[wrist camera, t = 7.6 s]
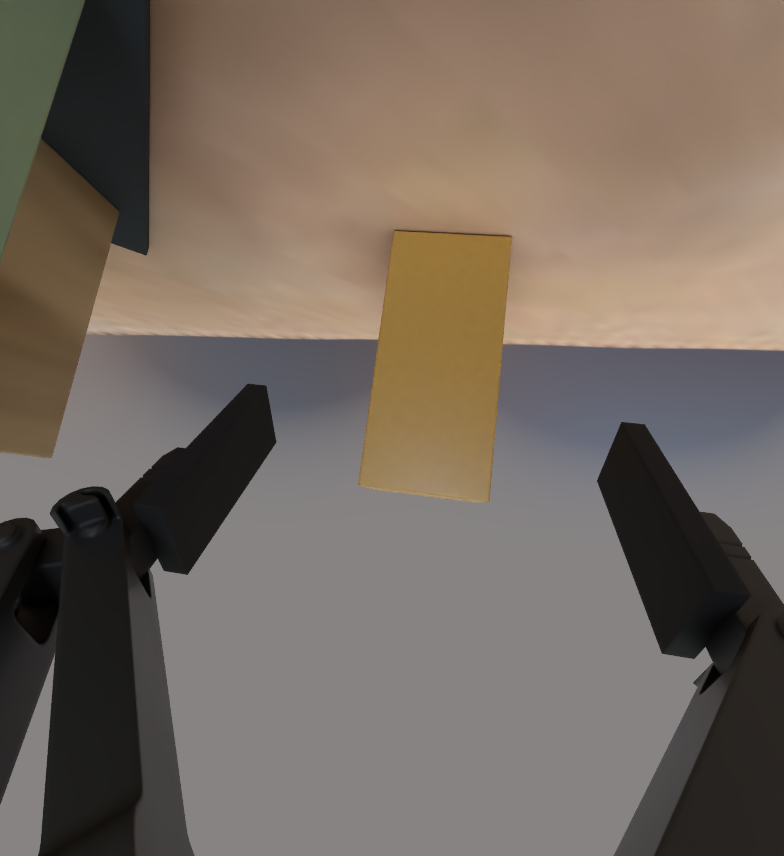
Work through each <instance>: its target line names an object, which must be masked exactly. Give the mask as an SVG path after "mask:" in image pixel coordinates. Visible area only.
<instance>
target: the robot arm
mask: <svg viewBox="0 0 784 856" xmlns="http://www.w3.org/2000/svg"><path fill="white" fill-rule="evenodd" d="M275 444H276V438H275V432H274V427H273V421H272V415H271V410H270V404H269V399H268V393H267V387H266V386H264V385H255V384H247V385H246V386H245V387H244V388H243V389H242V390H241V391H240V392H239V394H238V395H237V396H236V397H235V398H234V399H233V400H232V401H231V402H230V403H229V404H228V405H227V406H226V407H225V408H224V409H223V410H222V411H221V412H220V413H219V414H218V416H216V418H214V419H213V421H212V422H211V423H210V424H209V425H208V426H207V427H206V428H205V429H204V430H203V431H202V432H201V433H200V434H199V435H198V436H197V437H196V438H195V439H194V440H193V442H191V444H190V445H189V446H188V447H187V448H176V449H174V450H172V451H170V452H169V453H167V454H165V455H163V456H162V457H161V458H160V459H159V460H158V461H157V462H156V463H155V464H154V465H153V466H152V469H149V470H148V471H147V472H146V473H145V474H144V475H143V478H140V479H139V480H138V481H137V482H136V483H135V484H134V485H133V486H132V487H131V488H130V489H129V490H128V491H127V492H126V493H125V494H124V495H123V496H122V497H121V498H120V499H119V500H118V501H117V502H116V503H115V501H114V499H113V497H112V495H111V494H110V492H109V490H108V489H106V488H103V487H87V488H82V489H79V490H77V491H74V492H72V493H70V494H68V495H66V496H65V497H63V498H61V499H60V500H59V501H58V502H57V503H56V504H55V505H54V506H53V507H52V510H51V512H50V515H51V516H52V518H53V519H54V521H55V522H56V524H57V525H58V527H59V528H56V529H47V530H40V528H39V527H38V525H37V524H36V523H35V521H34V520H32V519H29V518H16V519H13V520H9V521H5V522H3V523H0V804H1V801H2V798H3V795H4V793H5V790H6V787H7V784H8V782H9V779H10V776H11V773H12V771H13V768H14V765H15V762H16V759H17V757H18V754H19V751H20V749H21V746H22V743H23V740H24V737H25V735H26V732H27V729H28V726H29V723H30V721H31V718H32V715H33V713H34V710H35V707H36V704H37V701H38V698H39V696H40V693H41V690H42V688H43V685H44V682H45V679H46V676H47V674H48V671H49V668H50V666H51V663H52V660H53V657H54V654H55V664H54V678H53V691H52V703H51V717H50V729H49V743H48V755H47V768H46V782H45V795H44V808H43V821H42V834H41V844H40V851H39V855H38V856H194V853H193V850H192V848H191V845H190V842H189V838H188V834H187V828H186V821H185V814H184V806H183V799H182V791H181V784H180V776H179V769H178V761H177V754H176V746H175V739H174V732H173V724H172V716H171V709H170V701H169V694H168V687H167V679H166V671H165V664H164V656H163V649H162V641H161V634H160V627H159V619H158V612H157V604H156V596H155V589H154V582H153V575H152V573H151V571H150V568H151V566H152V565H153V564H154V562H155V561H156V560H157V558H158V560H159V562H160V564H161V566H162V568H163V570H164V571H168V572H175V573H180V574H186V575H188V573H189V572H190V570H191V569H192V567H193V566H194V564H195V563H196V561H197V560H198V558H199V557H200V555H201V554H202V552H203V551H204V550H205V548H206V546H207V545H208V543H209V542H210V541H211V539H212V537H213V536H214V535H215V533H216V532H217V530H218V529H219V527H220V525H221V524H222V523H223V521H224V520H225V518H226V517H227V515H228V514H229V512H230V511H231V509H232V508H233V506H234V505H235V503H236V502H237V500H238V498H239V497H240V496H241V494H242V493H243V491H244V490H245V488H246V487H247V485H248V484H249V482H250V481H251V479H252V478H253V476H254V475H255V473H256V472H257V470H258V469H259V467H260V466H261V464H262V463H263V461H264V460H265V458H266V457H267V455H268V454H269V452H270V451H271V450H272V448H273V446H274V445H275ZM597 482H598V485H599V487H600V490H601V493H602V495H603V498H604V501H605V503H606V506H607V508H608V511H609V514H610V517H611V519H612V522H613V525H614V527H615V530H616V532H617V535H618V538H619V541H620V543H621V546H622V548H623V551H624V554H625V556H626V559H627V561H628V564H629V567H630V570H631V572H632V575H633V578H634V580H635V583H636V586H637V588H638V591H639V594H640V596H641V599H642V602H643V604H644V607H645V610H646V612H647V615H648V617H649V620H650V623H651V626H652V628H653V631H654V634H655V636H656V639H657V642H658V644H659V647H660V650H661V652H662V654H668V655H674V656H680V657H686V658H692V659H695V658H696V656H697V655H698V654H699V653H700V652H701V651H702V650H703V649H704V648H705V647H706V648H707V650H708V652H709V655H710V657H711V659H712V661H713V663H712V664H711V665H710V666H709V667H708V668H707V669H706V670H705V671H704V672H703V673H702V674H701V675H700V676H699V677H698V678H697V679H696V680H695V682H694V684H695V685H696V686H698V688H697V690H696V692H695V694H694V696H693V698H692V700H691V702H690V704H689V706H688V708H687V710H686V712H685V714H684V716H683V718H682V720H681V722H680V724H679V726H678V728H677V730H676V732H675V734H674V736H673V738H672V740H671V742H670V744H669V746H668V748H667V750H666V752H665V754H664V756H663V758H662V760H661V762H660V764H659V766H658V768H657V770H656V772H655V774H654V776H653V778H652V780H651V782H650V784H649V786H648V788H647V790H646V792H645V794H644V796H643V798H642V800H641V802H640V804H639V806H638V808H637V810H636V812H635V814H634V816H633V818H632V820H631V822H630V824H629V826H628V828H627V830H626V832H625V834H624V836H623V838H622V840H621V843H620V844H619V846H618V849H617V850H616V852H615V854H614V856H784V604H783V603H782V601H781V600H780V598H779V597H778V596H777V594H776V592H775V591H774V590H773V588H772V587H771V585H770V584H769V582H768V581H767V579H766V578H765V576H764V575H763V573H762V572H761V571H760V569H759V568H758V566H757V565H756V563H755V562H754V560H751V556H750V555H749V553H748V552H747V550H746V549H745V547H742V543H741V541H740V540H739V538H738V537H737V535H736V534H735V533H734V531H733V530H732V528H731V527H729V526H728V525H727V524H726V523H725V522H724V521H722V520H721V519H720V518H719V517H718V516H717V515H715V514H713V513H705V512H699V510H698V509H697V507H696V506H695V504H694V502H693V501H692V499H691V498H690V496H689V494H688V493H687V491H686V490H685V488H684V487H683V485H682V483H681V482H680V480H679V478H678V477H677V475H676V474H675V472H674V470H673V469H672V467H671V466H670V464H669V462H668V461H667V459H666V458H665V456H664V455H663V453H662V451H661V450H660V448H659V446H658V445H657V443H656V442H655V440H654V439H653V437H652V435H651V434H650V432H649V431H648V429H647V427H646V426H645V425H644V424H635V423H624V422H621V424H620V427H619V429H618V432H617V434H616V436H615V439H614V441H613V444H612V446H611V448H610V451H609V453H608V456H607V458H606V461H605V463H604V465H603V468H602V470H601V473H600V475H599V477H598V480H597Z"/></svg>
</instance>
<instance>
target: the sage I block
mask: <svg viewBox="0 0 784 856" xmlns="http://www.w3.org/2000/svg"><path fill="white" fill-rule="evenodd" d="M84 3H85V0H0V262H1V259H2V256H3V253H4V250H5V247H6V243H7V240H8V237H9V234H10V231H11V228H12V225H13V222H14V219H15V216H16V213H17V210H18V206H19V203H20V200H21V197H22V194H23V191H24V188H25V185H26V182H27V179H28V176H29V172H30V169H31V166H32V163H33V160H34V157H35V154H36V151H37V148H38V145H39V142H40V139H41V135H42V132H43V129H44V126H45V123H46V120H47V117H48V114H49V111H50V108H51V105H52V101H53V98H54V95H55V92H56V89H57V86H58V83H59V80H60V77H61V74H62V71H63V67H64V64H65V61H66V58H67V55H68V52H69V49H70V46H71V43H72V40H73V37H74V34H75V30H76V27H77V24H78V21H79V18H80V15H81V12H82V9H83V6H84Z"/></svg>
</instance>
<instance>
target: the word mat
mask: <svg viewBox="0 0 784 856" xmlns="http://www.w3.org/2000/svg"><path fill="white" fill-rule="evenodd" d="M149 109H150V0H85V3H84V6H83V9H82V12H81V15H80V18H79V21H78V24H77V27H76V30H75V34H74V37H73V40H72V43H71V46H70V49H69V52H68V55H67V58H66V61H65V64H64V67H63V71H62V74H61V77H60V80H59V83H58V86H57V89H56V92H55V95H54V98H53V101H52V105H51V108H50V111H49V114H48V117H47V120H46V123H45V126H44V129H43V132H42V135H41V138H42V139H43V140H44V141H45V142H46V143H47V144H48V145H49V146H50V147H52V148H53V149H54V150H55V151H56V152H57V153H58V154H59V155H60V156H61V157H62V158H63V159H64V160H65V161H66V162H67V163H69V164H70V165H71V166H72V167H73V168H74V169H75V170H76V171H77V172H78V173H79V174H80V175H81V176H82V177H83V178H85V179H86V180H87V181H88V182H89V183H90V184H91V185H92V186H93V187H94V188H95V189H96V190H97V191H98V192H99V193H101V194H102V195H103V196H104V197H105V198H106V199H107V200H108V201H109V202H110V203H111V204H112V205H113V206H114V207H115V208H116V209H118V210H119V215H118V219H117V222H116V226H115V230H114V233H113V237H112V241H111V243H113V244H115V245H118V246H121V247H124V248H127V249H129V250H132V251H135V252H138V253H141V254H144V255H147V252H148V248H149Z"/></svg>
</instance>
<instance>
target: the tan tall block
mask: <svg viewBox="0 0 784 856" xmlns="http://www.w3.org/2000/svg"><path fill="white" fill-rule="evenodd" d="M118 215H119V210H118V209H116V208H115V207H114V206H113V205H112V204H111V203H110V202H109V201H108V200H107V199H106V198H105V197H104V196H103V195H102V194H101V193H99V192H98V191H97V190H96V189H95V188H94V187H93V186H92V185H91V184H90V183H89V182H88V181H87V180H86V179H85V178H83V177H82V176H81V175H80V174H79V173H78V172H77V171H76V170H75V169H74V168H73V167H72V166H71V165H70V164H69V163H67V162H66V161H65V160H64V159H63V158H62V157H61V156H60V155H59V154H58V153H57V152H56V151H55V150H54V149H53V148H52V147H50V146H49V145H48V144H47V143H46V142H45V141H44V140H43V139H42V138H41V139H40V142H39V145H38V148H37V151H36V154H35V157H34V160H33V163H32V166H31V169H30V172H29V176H28V179H27V182H26V185H25V188H24V191H23V194H22V197H21V200H20V203H19V206H18V210H17V213H16V216H15V219H14V222H13V225H12V228H11V231H10V234H9V237H8V240H7V243H6V247H5V250H4V253H3V256H2V259H1V262H0V453H7V454H16V455H25V456H32V457H41V458H51V457H52V456H53V452H54V448H55V445H56V441H57V437H58V434H59V430H60V426H61V423H62V419H63V415H64V411H65V408H66V404H67V401H68V397H69V393H70V390H71V386H72V383H73V379H74V375H75V372H76V368H77V365H78V361H79V357H80V354H81V350H82V346H83V343H84V339H85V335H86V332H87V328H88V324H89V321H90V317H91V314H92V310H93V306H94V303H95V299H96V295H97V292H98V288H99V284H100V281H101V277H102V273H103V270H104V266H105V263H106V259H107V255H108V252H109V248H110V244H111V241H112V237H113V233H114V230H115V226H116V222H117V219H118Z"/></svg>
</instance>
